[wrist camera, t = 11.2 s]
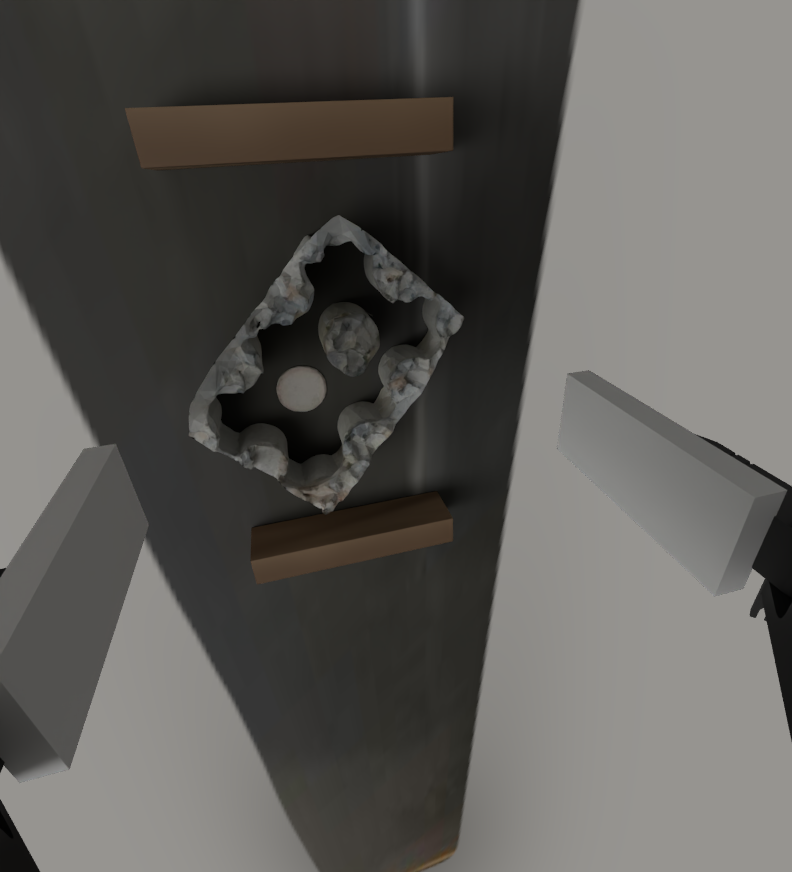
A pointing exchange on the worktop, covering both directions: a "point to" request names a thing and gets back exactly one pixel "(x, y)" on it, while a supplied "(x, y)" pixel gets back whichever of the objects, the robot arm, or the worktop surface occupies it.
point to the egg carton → (305, 386)
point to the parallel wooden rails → (303, 142)
